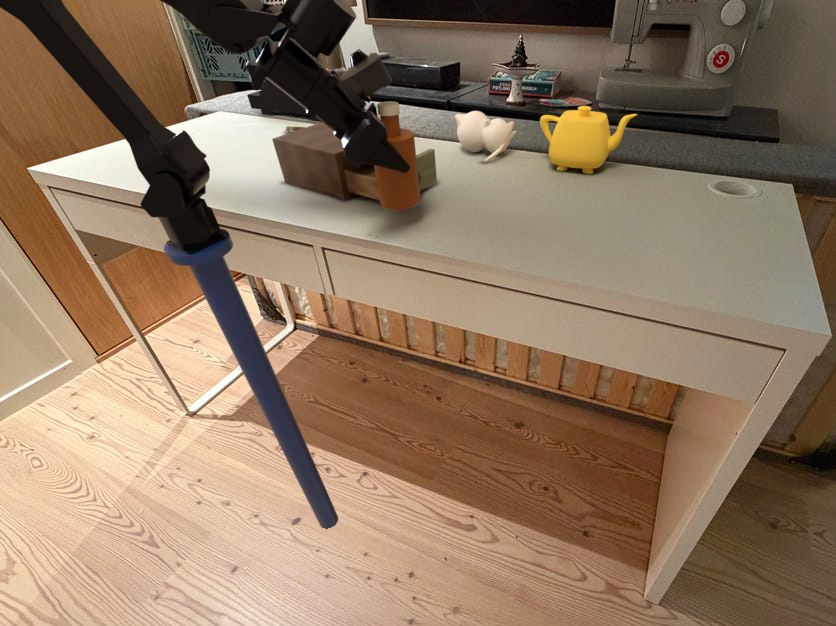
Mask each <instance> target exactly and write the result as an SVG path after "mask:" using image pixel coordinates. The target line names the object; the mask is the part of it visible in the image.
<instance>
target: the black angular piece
mask: <svg viewBox="0 0 836 626" xmlns="http://www.w3.org/2000/svg"><path fill="white" fill-rule="evenodd" d="M246 96H247V99H248V102H249V105H250V108H251V109H254V110H260V111H261V115H266V116H274V115H276V113H275V112H278V113H286V114H294V115H295V114H296V115H302V116H309V115H308V114H307V112H306V109H305V108H304V107H302V106H301V105H300V104H299V103H297V102H296V101H295V100H293V99H292V98H291V97H290V96H288V95H287V94H286V93H285V92H283V91H282V90H281V89H279V88H278V87H277V86H276V85H274V84H273V83H272V82H271V81H269V80H268V79H267V78H265V80H264V82H263V83H262V85H261V87H260V89H259V90H257V91H254V92H251V93H248V94H246ZM310 118H311V121H314V122H321V121H320V120H319V119H318V118H316V117H315V118H314V119H313V118H312V117H310Z"/></svg>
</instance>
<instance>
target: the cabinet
mask: <svg viewBox="0 0 836 626" xmlns="http://www.w3.org/2000/svg"><path fill="white" fill-rule="evenodd" d="M345 134H346V133H345ZM344 136H345V135H344ZM344 136H343V137H344ZM342 139H343V138H342ZM342 139H341V140H340V139H339V138H337V137H336V136H335V135H334V132H333V130H332V129H330V128H329V127H328V126H327V125H325V124H324V123H323V122H322V121H320V122H319V123H315V124H312V125H309V126H306V128H303V129H300V130H297V131H294V132H288V133H286V134H282V135H279V136H277V137H274V138H271V140H272V142H273V146H274V150H275V153H276V157H277V161H278V163H279V168H280V170H281V173H282V176H283V180H284V183H285V184H287V185H290V186H295V187H298V188H301V189H305V190H308V191H311V192H315V193H319V194H321V195H324V196H328V197H332V198H335V199H337V200H342V201H347V200H349V199H352V198H353V197H355V196H357V195H358V194H355V193H352V192H348V191H347V188H346V183H345V178H344V174H343V169H342V164H341V160H340V158H342V157H345V154H344V150H343V145H342Z"/></svg>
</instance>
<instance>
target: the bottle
mask: <svg viewBox="0 0 836 626" xmlns="http://www.w3.org/2000/svg"><path fill="white" fill-rule="evenodd" d="M376 108H377V115H379V119H380V120H381V121H383V122H384V124H385V125H386V128H387V140H388V141H389V142H390V143H391V144H392V145H393V147H394V148H395V149H396V150H397V151H398V152H399V154H400V155H401V156H402V157H403V158H404V160H405V161H406V162H407V163H408V164H409V166H410V169H409V171H408V172H407V173H404V172H400V171H396V170H392V169H388V168H384V167H380V166H375V165H374V167H375V174H376V180H377V186H378V193H379V199H380V200H379V204H380V206H382V208H383V207H385V208H384V209H386V208H388V209H387V210H396V211H398V210H401V211H402V210H407V209H411V208H414V207H416V206H417V205H419V203H420V202H421V194H420V193H421V191H419V181H418V171H417V161H416V155H417V150H416V142H415V133H414V132H413V130H410V129H406V128H401V124H400V113H401V112H400V104H399V102H397V101H390V100H389V101H386V100H385V101H381V102H377V104H376Z"/></svg>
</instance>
